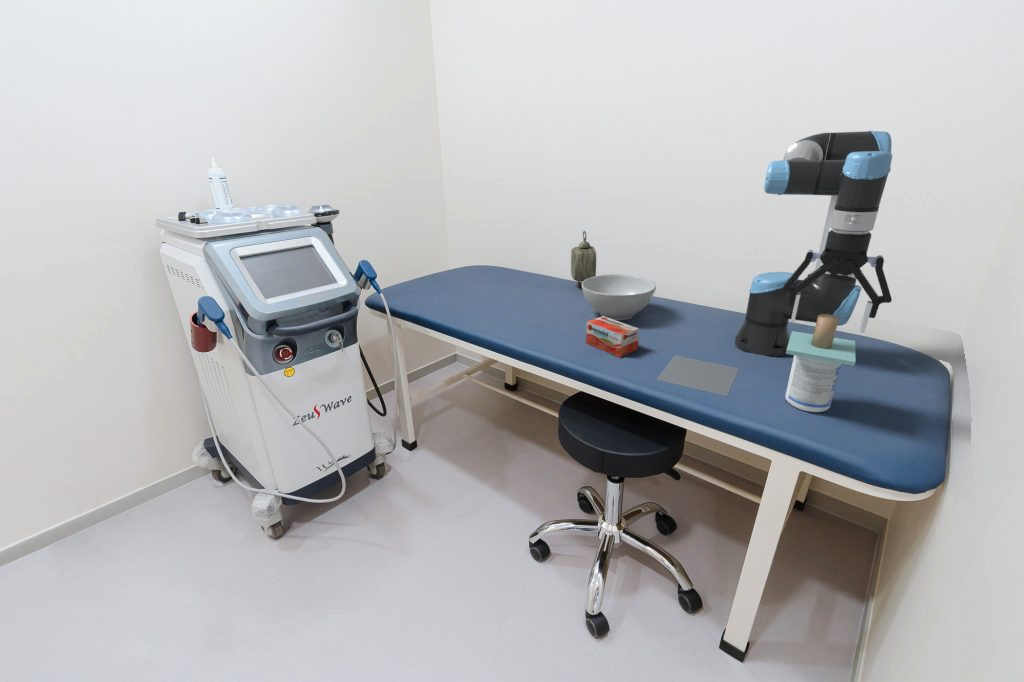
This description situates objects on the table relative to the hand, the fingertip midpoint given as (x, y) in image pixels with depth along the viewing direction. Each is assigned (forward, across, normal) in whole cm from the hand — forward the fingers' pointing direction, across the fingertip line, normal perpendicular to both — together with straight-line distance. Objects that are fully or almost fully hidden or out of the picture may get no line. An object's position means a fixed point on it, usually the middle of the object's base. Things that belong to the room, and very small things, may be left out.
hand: (826, 325), depth 105 cm
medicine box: (+21, -54, +8) cm, 59 cm away
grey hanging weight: (+21, -91, +64) cm, 113 cm away
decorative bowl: (+21, -64, +37) cm, 77 cm away
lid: (+6, 0, 0) cm, 6 cm away
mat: (+21, -26, +2) cm, 33 cm away
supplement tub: (+21, 0, 0) cm, 21 cm away
